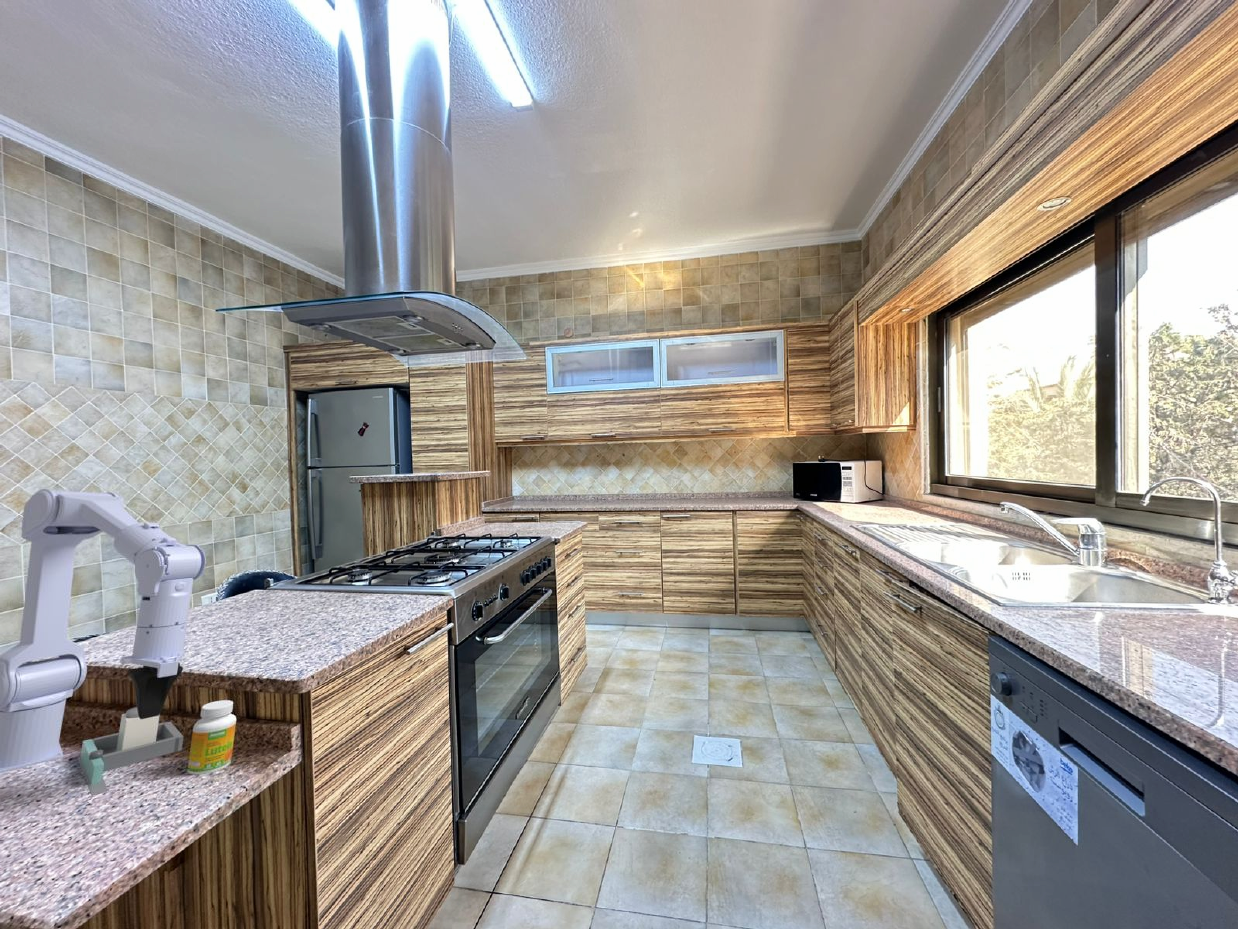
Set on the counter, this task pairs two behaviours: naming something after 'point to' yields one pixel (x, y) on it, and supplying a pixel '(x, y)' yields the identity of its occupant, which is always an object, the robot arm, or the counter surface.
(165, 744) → the housing
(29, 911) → the counter surface
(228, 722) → the supplement bottle
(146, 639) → the robot arm
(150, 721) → the cream block with knob
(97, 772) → the teal long flat bar
